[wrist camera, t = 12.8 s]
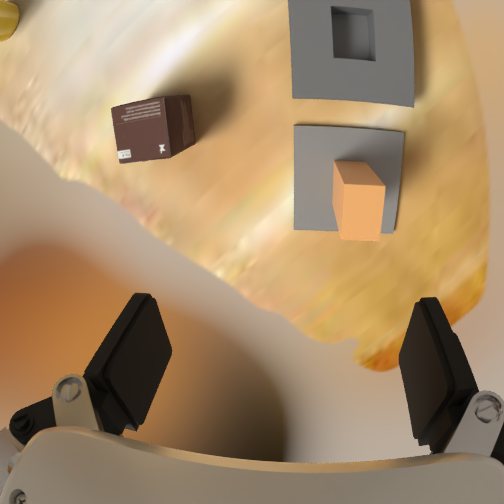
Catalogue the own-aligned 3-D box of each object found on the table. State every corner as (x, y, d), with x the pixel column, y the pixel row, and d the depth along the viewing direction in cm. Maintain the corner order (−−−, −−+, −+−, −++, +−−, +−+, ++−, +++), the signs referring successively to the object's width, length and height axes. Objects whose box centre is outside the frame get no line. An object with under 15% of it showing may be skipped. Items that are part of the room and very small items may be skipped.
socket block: (287, -20, 23) (285, -31, 20) (398, -10, 22) (407, -19, 18) (293, 98, 30) (292, 98, 27) (403, 105, 28) (413, 107, 25)
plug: (333, 160, 32) (344, 184, 24) (365, 161, 31) (385, 186, 24) (332, 204, 34) (340, 239, 27) (362, 205, 34) (379, 241, 26)
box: (191, 93, 31) (165, 95, 25) (196, 144, 34) (172, 158, 28) (143, 101, 32) (109, 107, 26) (149, 149, 35) (118, 164, 29)
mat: (293, 125, 31) (293, 125, 31) (402, 132, 30) (404, 132, 29) (294, 227, 37) (293, 229, 37) (391, 231, 35) (393, 233, 35)
